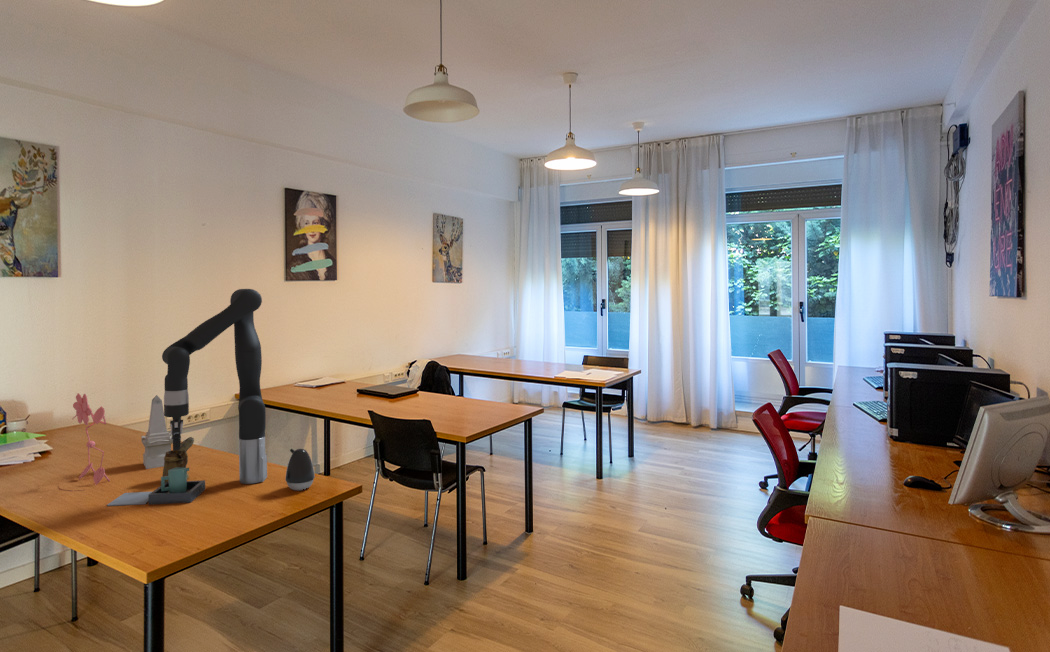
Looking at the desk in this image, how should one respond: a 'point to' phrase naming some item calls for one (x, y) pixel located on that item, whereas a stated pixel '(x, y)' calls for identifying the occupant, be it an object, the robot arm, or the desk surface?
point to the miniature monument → (156, 437)
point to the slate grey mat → (131, 499)
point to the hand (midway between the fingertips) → (176, 447)
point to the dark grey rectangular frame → (177, 494)
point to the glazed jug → (175, 480)
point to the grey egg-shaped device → (299, 470)
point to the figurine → (83, 413)
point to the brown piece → (177, 457)
